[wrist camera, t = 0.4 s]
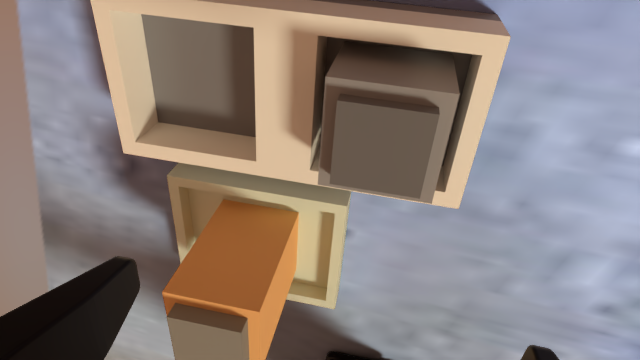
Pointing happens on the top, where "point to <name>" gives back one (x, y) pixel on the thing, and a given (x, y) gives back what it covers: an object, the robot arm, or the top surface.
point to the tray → (309, 200)
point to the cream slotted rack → (306, 89)
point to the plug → (233, 284)
